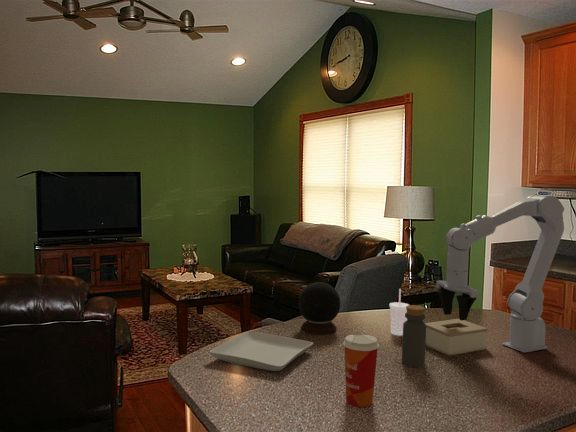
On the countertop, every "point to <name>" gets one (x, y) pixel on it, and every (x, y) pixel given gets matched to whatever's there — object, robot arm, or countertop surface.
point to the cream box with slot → (455, 336)
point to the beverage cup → (397, 316)
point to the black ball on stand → (319, 308)
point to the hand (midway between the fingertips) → (455, 317)
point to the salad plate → (261, 350)
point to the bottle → (414, 337)
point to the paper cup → (360, 369)
